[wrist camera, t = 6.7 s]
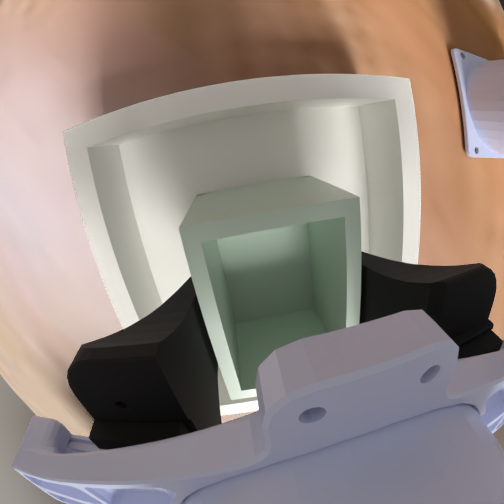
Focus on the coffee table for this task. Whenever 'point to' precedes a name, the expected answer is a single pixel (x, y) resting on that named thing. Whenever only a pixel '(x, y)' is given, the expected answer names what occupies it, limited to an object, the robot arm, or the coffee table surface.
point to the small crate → (272, 268)
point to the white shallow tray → (239, 172)
